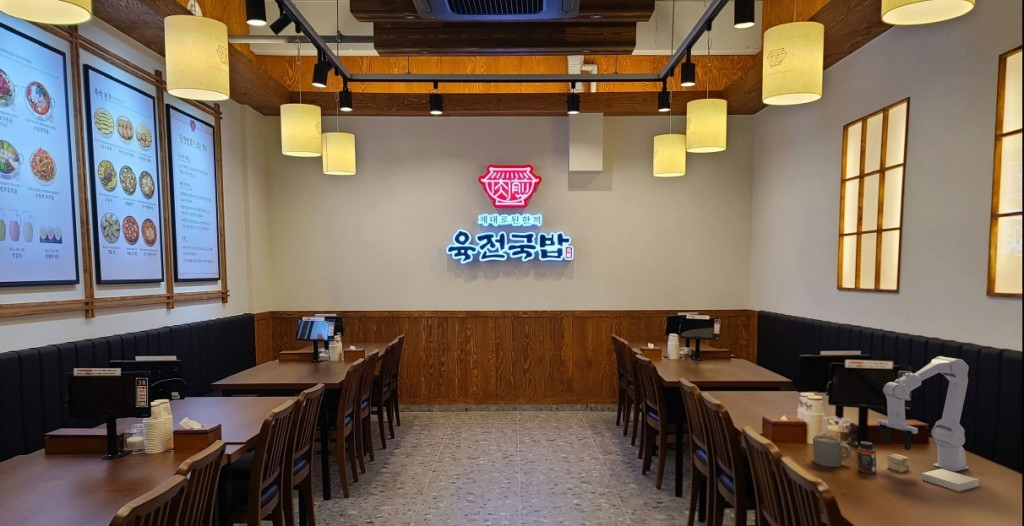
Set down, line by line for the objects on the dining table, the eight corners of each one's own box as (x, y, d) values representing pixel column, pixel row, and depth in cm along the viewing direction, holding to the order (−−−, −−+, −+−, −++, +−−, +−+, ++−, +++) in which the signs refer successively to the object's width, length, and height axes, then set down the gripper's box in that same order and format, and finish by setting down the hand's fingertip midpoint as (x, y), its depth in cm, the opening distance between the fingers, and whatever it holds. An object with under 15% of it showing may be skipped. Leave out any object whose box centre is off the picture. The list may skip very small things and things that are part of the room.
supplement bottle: (879, 474, 205) (878, 445, 205) (862, 473, 206) (861, 444, 207) (872, 469, 211) (871, 440, 211) (855, 468, 212) (854, 440, 212)
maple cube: (896, 466, 214) (895, 453, 214) (909, 470, 209) (908, 457, 210) (887, 468, 212) (887, 455, 212) (901, 472, 208) (900, 459, 208)
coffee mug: (812, 464, 218) (812, 439, 218) (814, 457, 226) (813, 433, 226) (851, 470, 210) (850, 444, 211) (851, 462, 219) (850, 438, 219)
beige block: (941, 476, 204) (941, 468, 204) (978, 487, 192) (978, 479, 193) (922, 481, 199) (921, 473, 199) (958, 492, 188) (958, 484, 188)
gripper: (871, 409, 217) (872, 443, 216) (909, 418, 204) (910, 453, 203) (882, 408, 220) (884, 441, 219) (920, 416, 206) (922, 451, 206)
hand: (897, 447), depth 211 cm, fingers open, 7 cm apart
